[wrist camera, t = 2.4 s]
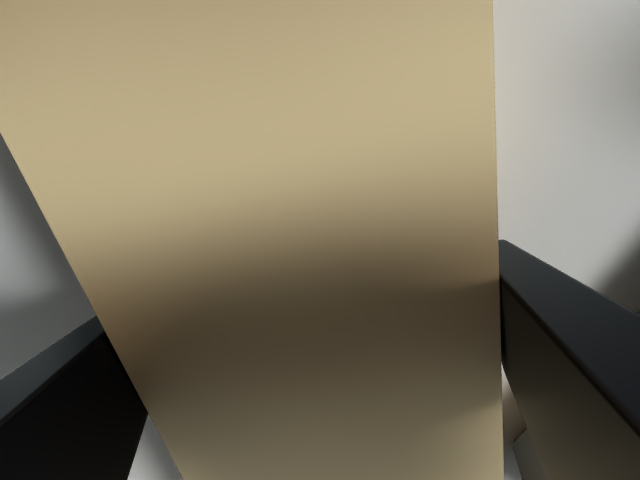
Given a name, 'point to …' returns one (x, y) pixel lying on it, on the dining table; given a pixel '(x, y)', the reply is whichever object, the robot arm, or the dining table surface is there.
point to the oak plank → (278, 221)
